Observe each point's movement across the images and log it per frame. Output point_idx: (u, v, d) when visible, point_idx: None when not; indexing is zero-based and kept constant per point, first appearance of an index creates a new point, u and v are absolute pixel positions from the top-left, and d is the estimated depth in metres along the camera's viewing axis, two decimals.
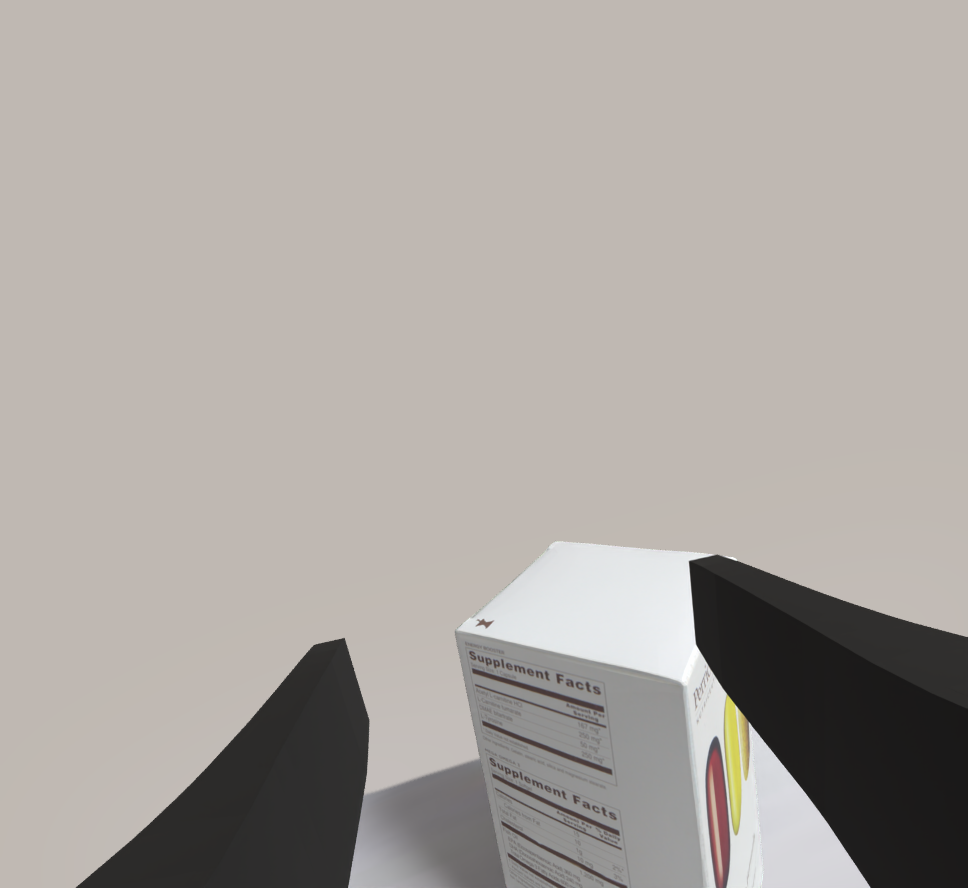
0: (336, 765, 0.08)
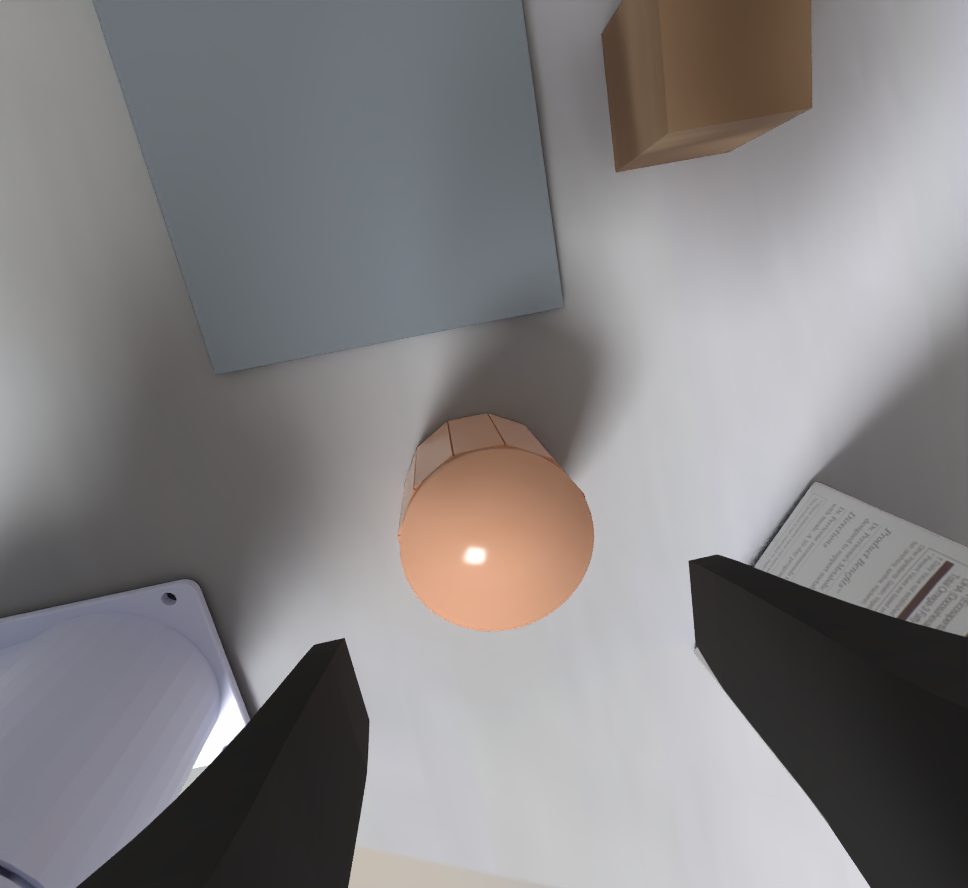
0: (336, 765, 0.08)
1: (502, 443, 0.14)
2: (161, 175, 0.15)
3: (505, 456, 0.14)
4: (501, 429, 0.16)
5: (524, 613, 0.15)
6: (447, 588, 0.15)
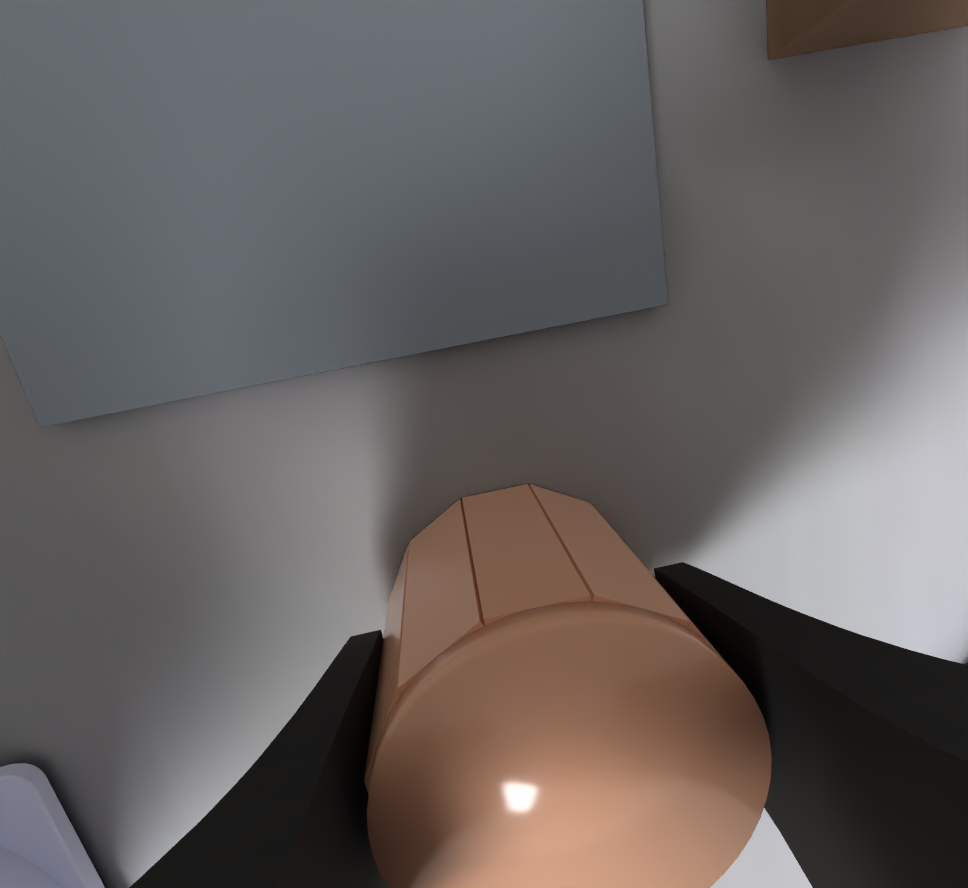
0: None
1: (586, 594, 0.07)
2: None
3: (599, 633, 0.06)
4: (566, 534, 0.09)
5: None
6: None
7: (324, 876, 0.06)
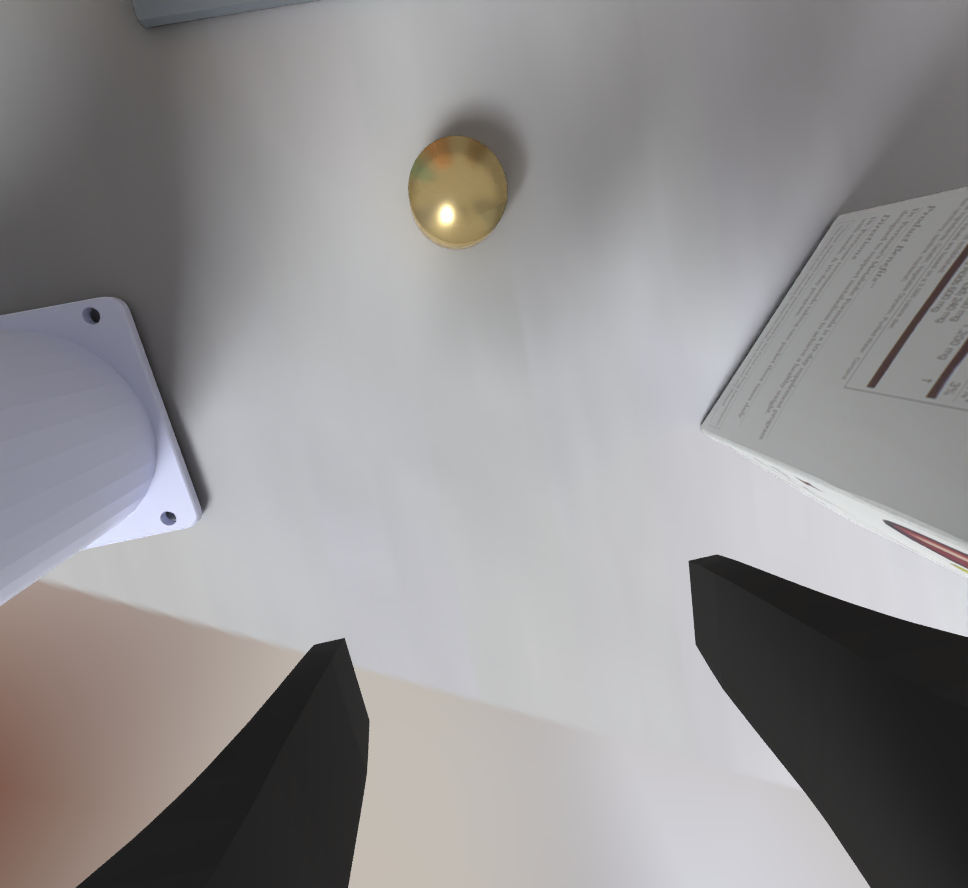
0: (336, 765, 0.08)
1: None
2: None
3: None
4: None
5: None
6: None
7: None
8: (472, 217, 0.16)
